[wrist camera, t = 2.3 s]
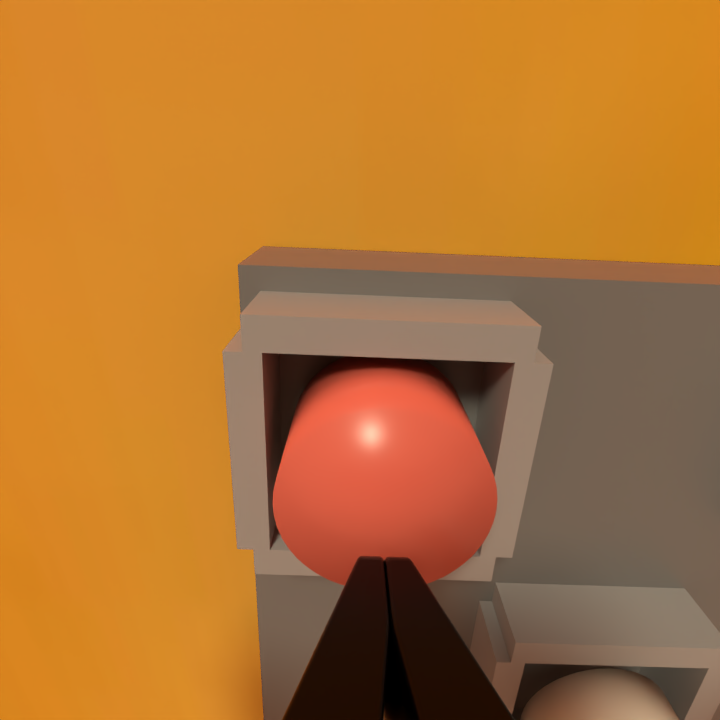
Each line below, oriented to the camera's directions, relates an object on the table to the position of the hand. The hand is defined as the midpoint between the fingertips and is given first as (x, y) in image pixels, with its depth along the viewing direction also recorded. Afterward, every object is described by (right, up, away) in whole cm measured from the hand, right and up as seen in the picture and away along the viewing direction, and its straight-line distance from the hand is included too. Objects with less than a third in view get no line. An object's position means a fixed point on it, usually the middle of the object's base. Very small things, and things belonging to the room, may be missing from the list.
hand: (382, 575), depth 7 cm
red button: (0, +2, +4) cm, 5 cm away
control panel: (+7, -1, +9) cm, 12 cm away
